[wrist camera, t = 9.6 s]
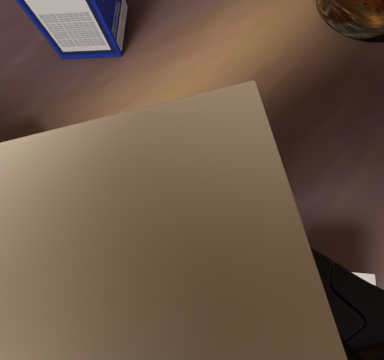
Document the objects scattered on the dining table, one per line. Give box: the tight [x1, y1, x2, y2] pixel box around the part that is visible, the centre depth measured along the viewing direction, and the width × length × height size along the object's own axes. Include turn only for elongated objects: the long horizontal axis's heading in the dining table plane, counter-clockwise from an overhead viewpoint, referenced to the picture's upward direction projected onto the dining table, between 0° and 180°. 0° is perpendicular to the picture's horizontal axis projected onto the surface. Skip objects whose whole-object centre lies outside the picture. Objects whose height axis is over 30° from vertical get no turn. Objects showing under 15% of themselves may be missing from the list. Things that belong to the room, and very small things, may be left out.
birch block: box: [0, 80, 347, 360], centre depth 9 cm, size 5×5×13 cm
